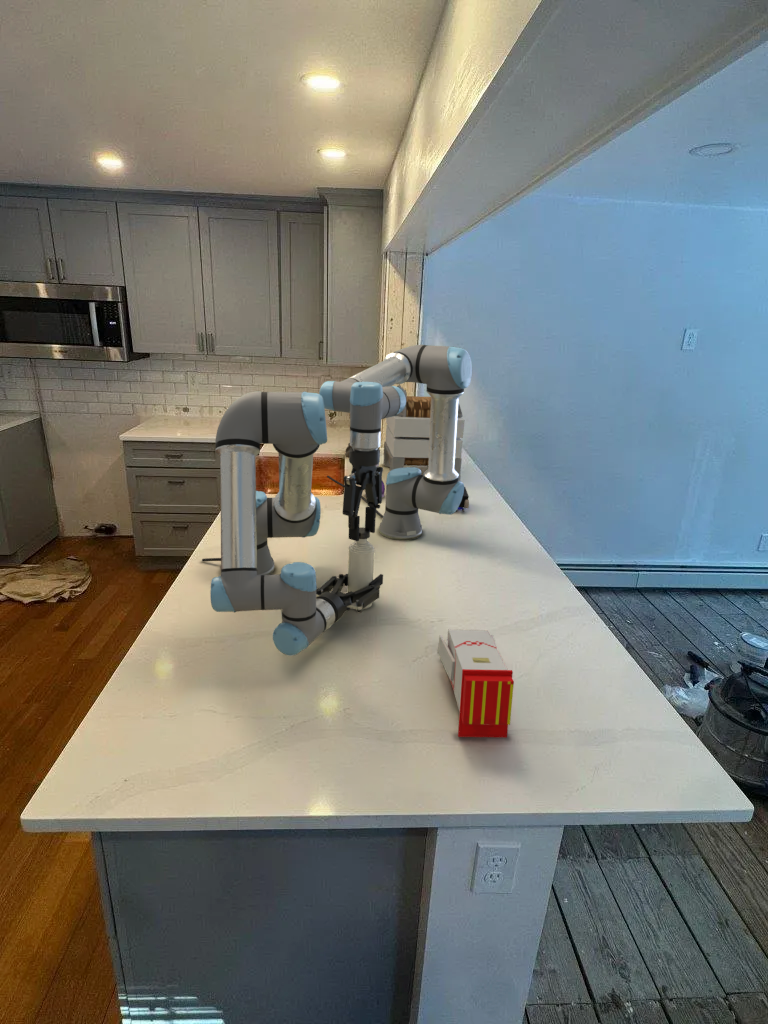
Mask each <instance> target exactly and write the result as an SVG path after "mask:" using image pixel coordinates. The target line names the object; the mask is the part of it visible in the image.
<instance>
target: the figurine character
mask: <svg viewBox="0 0 768 1024" xmlns="http://www.w3.org/2000/svg"><path fill="white" fill-rule="evenodd" d="M469 498H470V496H469V494H468V491H467V488H466V486H464V493H463V497H462V500H461V503H460V505H459V507H458V509H457V510H456V511H455V513H458V510H461V511H462V513H465V509H469V506H470V500H469Z"/></svg>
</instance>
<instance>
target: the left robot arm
mask: <svg viewBox="0 0 768 1024" xmlns="http://www.w3.org/2000/svg"><path fill="white" fill-rule="evenodd" d="M326 419H327V418H326V409H325V408H324V400H323V397H322V396H321V395H320V394H319V393H317V392H307V391H261V390H260V391H259V390H257V391H251V392H250V391H249V392H247V393H245V394H243V395H241V396H239V397H238V398H237V399H235V400H234V401H233V402H232V403H231V404H230V405H229V407H228V408H227V409H226V410H225V412H224V414H223V415H222V417H221V419H220V421H219V424H218V426H217V430H216V435H215V440H214V441H215V453H216V454H217V456H219V457H220V459H219V461H220V464H219V465H220V469H219V470H220V474H219V475H220V476H219V477H220V557H211V558H210V557H209V558H207V557H206V558H202V559H201V561H202V562H220V575H218V576H215V577H212V579H211V582H210V591H209V593H210V606H211V608H212V610H214V611H215V612H216V613H238V612H251V611H277V610H281V622H280V623H278V625H277V626H276V627H275V628H274V630H273V632H272V642H273V644H274V646H275V647H276V649H277V650H278V651H279V652H280V653H281V654H284V655H285V656H288V657H289V656H290V657H291V656H296V655H298V654H299V653H301V652H302V651H304V650H305V649H307V648H308V647H309V646H310V645H311V644H312V643H313V642H315V640H317V639H318V638H319V637H321V635H322V634H324V633H325V632H327V630H328V629H330V628H331V627H332V626H333V625H334V624H336V623H337V622H338V621H340V619H342V617H343V616H344V615H345V613H346V612H348V611H351V610H356V613H362V612H363V610H364V609H363V608H365V607H366V606H368V605H369V604H371V603H372V604H373V602H375V601H377V600H378V599H380V589H381V586H382V585H383V583H384V574H382V573H380V574H379V575H377V576H376V577H375V578H373V581H371V582H370V583H369V586H368V587H365V588H362V589H360V590H357V591H355V592H352V591H350V592H348V591H347V592H342V590H343V588H344V587H348V573H345V574H343V573H340V574H339V575H338V577H337V576H336V575H332V576H331V577H329V579H328V580H327V581H325V582H324V584H322V585H321V586H320V587H317V574H316V573H317V572H316V570H315V568H314V566H313V565H311V564H309V563H307V562H302V561H294V562H292V563H287V564H285V565H283V566H282V568H281V570H280V574H273V573H274V571H275V561H274V558H273V556H272V554H271V551H270V547H269V545H268V539H273V538H275V539H278V538H279V539H280V538H303V539H304V538H307V537H314V536H316V535H317V534H318V532H319V529H320V524H321V511H322V509H321V501H320V499H319V498H318V497H317V496H315V495H314V494H313V492H312V483H313V467H314V454H315V453H316V452H317V451H318V450H319V448H320V446H321V445H324V444H326V443H327V442H328V431H327V422H326V421H327V420H326ZM261 444H263V445H272V446H273V448H274V449H275V451H276V452H277V453H278V492H277V493H276V494H275V497H268V496H267V494H266V492H264V491H261V490H257V477H256V475H257V474H256V470H257V468H256V457H257V456H259V454H260V453H261Z"/></svg>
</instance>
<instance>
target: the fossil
mask: <svg viewBox="0 0 768 1024" xmlns="http://www.w3.org/2000/svg"><path fill="white" fill-rule="evenodd" d="M347 445H348V446H347V447H346V449H345V453H344V455H345V457H346V458H349V449H350V448H351V446H350V442H348V444H347Z"/></svg>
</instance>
